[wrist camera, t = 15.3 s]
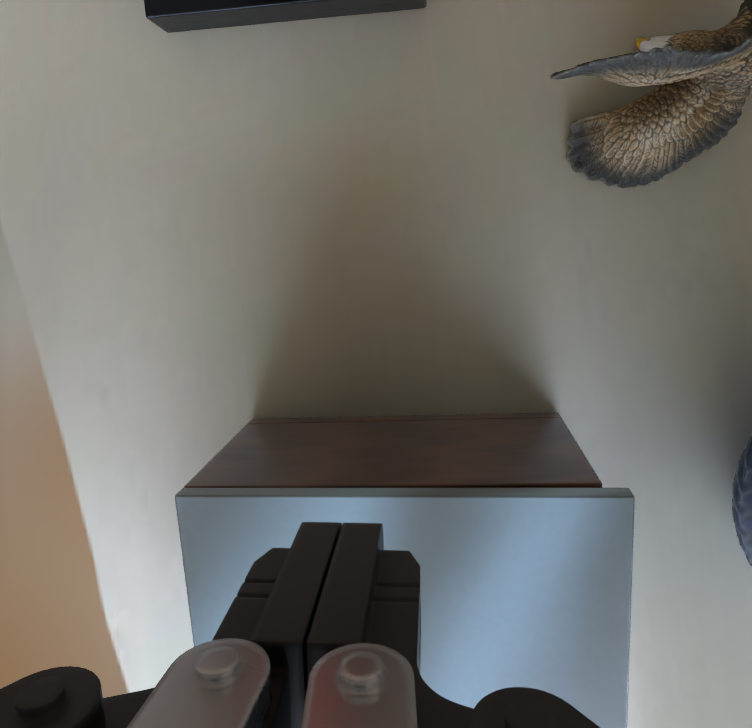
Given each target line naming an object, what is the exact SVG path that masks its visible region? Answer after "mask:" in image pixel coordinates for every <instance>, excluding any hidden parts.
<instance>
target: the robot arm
mask: <svg viewBox="0 0 752 728" xmlns="http://www.w3.org/2000/svg"><path fill="white" fill-rule="evenodd" d="M420 662H421V576H420V565H419V563H418V562H417V561H416V559H415V558H414V556H413V555H412V554H411V552H410V551H401V550H384V536H383V525H382V523H343V525H342V523H337V522H302V523H301V525H300V527H299V530H298V532H297V534H296V536H295V538H294V541H293V543H292V545H291V547H290V548H272V549H270V550H269V551H268V552H266V553H265V554H264V555H263V556H261V557H260V558H259V559H257V560H256V561H255V562H254V563H253V565H252V567H251V568H250V570H249V572H248V574H247V576H246V578H245V583H242V585H241V587H240V589H239V591H238V593H237V597H235V598H234V600H233V602H232V604H231V606H230V608H229V610H228V611H227V613H226V615H225V617H224V619H223V621H222V623H221V625H220V626H219V628H218V630H217V632H216V634H215V636H214V638H213V640H212V641H209V642H205V643H202V644H200V645H197V646H195V647H193V648H191V649H190V650H188V651H186V652H185V653H183V654H182V655H180V656H179V657H178V658H177V659H176V660H175V661H174V662H173V663H172V664H171V666H170V667H169V668H168V670H167V671H166V673H165V674H164V675H163V677H162V678H161V680H160V681H159V682H158V684H157V685H156V687H155V688H151V689H147V690H143V691H138V692H133V693H128V694H122V695H117V696H113V697H107V698H103V697H102V690H101V684H100V680H99V678H98V677H97V676H96V675H95V674H94V673H93V672H92V671H89V670H87V669H84V668H80V667H71V666H70V667H58V668H51V669H48V670H43V671H40V672H37V673H34V674H32V675H29V676H27V677H24V678H22V679H20V680H18V681H16V682H14V683H12V684H10V685H8V686H6V687H4V688H2V689H0V728H600V727H599V726H598V725H596V724H595V723H594V722H592V721H591V720H590V719H589V718H587V717H586V716H585V715H583V714H582V713H581V712H579V711H578V710H577V709H575V708H574V707H573V706H572V705H570V704H569V703H567V702H566V701H564V700H563V699H561V698H559V697H557V696H555V695H553V694H551V693H548V692H545V691H543V690H538V689H534V688H527V687H510V688H504V689H500V690H496V691H494V692H492V693H490V694H488V695H486V696H485V697H484V698H482V699H481V700H480V701H479V702H478V703H477V705H476V706H475V708H474V709H473V708H470V707H467V706H463V705H460V704H457V703H455V702H452V701H450V700H448V699H446V698H444V697H442V696H440V695H439V694H437V693H436V692H434V691H433V690H432V689H431V688H430V687H429V686H428V685H427V684H426V683H425V681H424V680H423V679H422V677H421V675H420Z"/></svg>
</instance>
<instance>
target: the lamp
mask: <svg viewBox="0 0 752 728" xmlns="http://www.w3.org/2000/svg"><path fill="white" fill-rule="evenodd" d="M732 502H733V506H732V511H733V517H734V522H735V527H736V531H737V536H738V539H739V542H740V545H741V547H742V549H743V550H744V552H745V554H746V557H747V560H748V562H749V564H750V565H751V567H752V436H751V437H750V439H749V441H748V443H747V446H746V448H745V450H744V451H743V453H742V455H741V458H740V460H739V465H738V468H737V471H736V475H735V478H734V483H733V499H732Z"/></svg>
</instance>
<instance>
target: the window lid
mask: <svg viewBox="0 0 752 728" xmlns="http://www.w3.org/2000/svg"><path fill="white" fill-rule="evenodd" d="M634 499H635V498H634V496H633V494H632V493H631V491H630V490H629V488H183V489H182V490H181V491H180V492H178V493H177V494H176V495H175V501H176V509H177V517H178V525H179V533H180V540H181V548H182V556H183V564H184V571H185V579H186V587H187V595H188V603H189V610H190V618H191V626H192V634H193V642H194V647H195V646H197V645H200V644H202V643H205V642H209V641H212V640H213V638H214V636H215V634H216V632H217V630H218V628H219V626H220V625H221V623H222V621H223V619H224V617H225V615H226V613H227V611H228V610H229V608H230V606H231V604H232V602H233V600H234V598H235V597H237V593H238V591H239V589H240V587H241V585H242V583H245V578H246V576H247V574H248V572H249V570H250V568H251V567H252V565H253V563H254V562H255V561H256V560H257V559H259V558H260V557H261V556H263V555H264V554H265V553H266V552H268V551H269V550H270V549H272V548H290V547H291V545H292V543H293V541H294V538H295V536H296V534H297V532H298V530H299V527H300V525H301V523H302V522H337V523H342V525H343V523H382V525H383V536H384V550H401V551H410V552H411V554H412V555H413V556H414V558H415V559H416V561H417V562H418V563H419V565H420V576H421V662H420V675H421V677H422V679H423V680H424V681H425V683H426V684H427V685H428V686H429V687H430V688H431V689H432V690H433V691H434V692H436V693H437V694H439V695H440V696H442V697H444V698H446V699H448V700H450V701H452V702H455V703H457V704H460V705H463V706H467V707H470V708H473V709H474V708H475V706H476V705H477V703H478V702H479V701H480V700H481V699H482V698H484V697H485V696H486V695H488V694H490V693H492V692H494V691H496V690H500V689H504V688H510V687H527V688H534V689H538V690H543V691H545V692H548V693H551V694H553V695H555V696H557V697H559V698H561V699H563V700H564V701H566V702H567V703H569V704H570V705H572V706H573V707H574V708H575V709H577V710H578V711H579V712H581V713H582V714H583V715H585V716H586V717H587V718H589V719H590V720H591V721H592V722H594V723H595V724H596V725H598V726H599V727H600V728H627V713H628V682H629V652H630V621H631V591H632V560H633V529H634Z"/></svg>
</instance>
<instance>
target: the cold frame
mask: <svg viewBox="0 0 752 728" xmlns="http://www.w3.org/2000/svg"><path fill="white" fill-rule="evenodd" d="M184 488H602V483H601V481H600V480H599V478H598V476H597V475H596V473H595V471H594V470H593V468H592V467H591V465H590V463H589V462H588V460H587V458H586V457H585V455H584V454H583V452H582V450H581V449H580V447H579V445H578V444H577V442H576V441H575V439H574V437H573V436H572V434H571V433H570V431H569V429H568V428H567V426H566V424H565V423H564V421H563V420H562V418H561V416H560V415H559V413H526V414H480V415H433V416H386V417H339V418H293V419H252V420H251V421H250V422H249V423H248V424H247V425H246V426H245V427H244V428H243V429H242V430H241V431H240V432H239V433H238V434H237V435H236V436H235V437H234V438H233V439H232V440H231V441H230V442H229V443H228V444H227V445H226V446H225V447H224V448H223V449H222V450H221V451H220V452H219V453H218V454H217V455H216V456H214V457H213V458H212V459H211V460H210V461H209V462H208V463H207V464H206V465H205V466H204V467H203V468H202V469H201V470H200V471H199V472H198V473H197V474H196V475H195V476H194V477H193V478H192V479H191V480H190V481H189V482H188V483H187V484H186V485H185V486H184Z"/></svg>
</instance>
